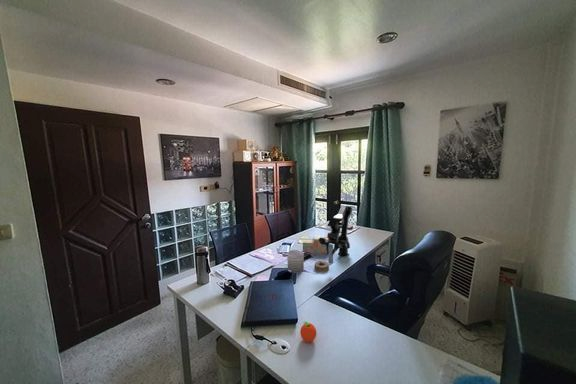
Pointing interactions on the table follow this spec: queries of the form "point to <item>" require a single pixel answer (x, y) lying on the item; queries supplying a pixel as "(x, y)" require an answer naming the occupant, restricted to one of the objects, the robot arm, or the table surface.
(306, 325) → the clementine
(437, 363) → the table surface
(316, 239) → the stack of blocks
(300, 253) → the can
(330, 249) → the peg
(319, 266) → the brown ring
